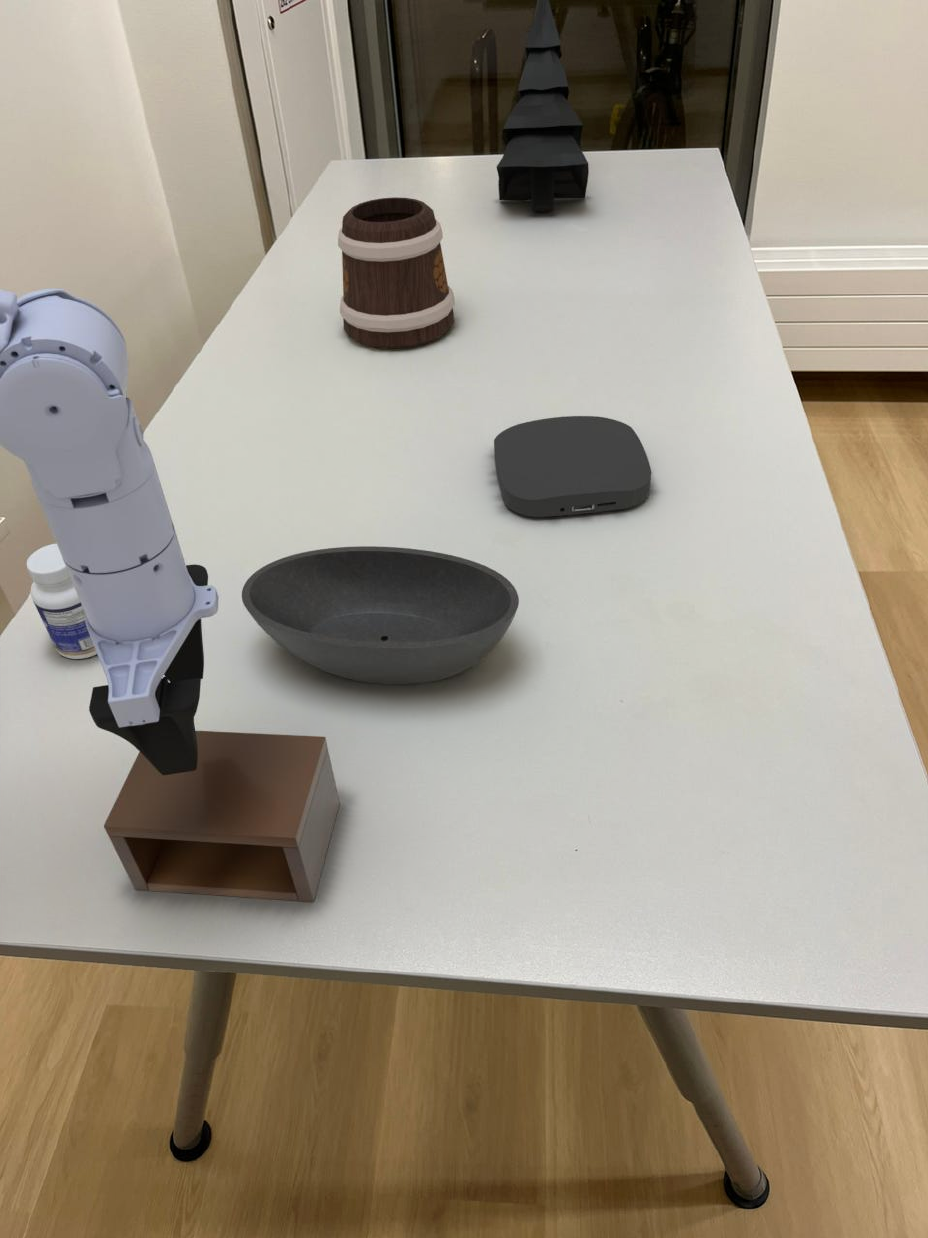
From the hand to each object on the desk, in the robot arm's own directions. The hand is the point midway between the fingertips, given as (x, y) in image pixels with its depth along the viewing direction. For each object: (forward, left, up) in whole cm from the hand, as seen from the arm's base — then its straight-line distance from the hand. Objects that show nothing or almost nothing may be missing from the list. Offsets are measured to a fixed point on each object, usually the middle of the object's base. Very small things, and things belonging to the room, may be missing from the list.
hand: (183, 720), depth 58 cm
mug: (+22, +80, -11) cm, 84 cm away
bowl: (+13, +15, -11) cm, 23 cm away
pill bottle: (-12, +23, -11) cm, 28 cm away
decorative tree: (+51, +122, -11) cm, 133 cm away
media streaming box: (+34, +37, -11) cm, 52 cm away
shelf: (+1, -1, -11) cm, 11 cm away
